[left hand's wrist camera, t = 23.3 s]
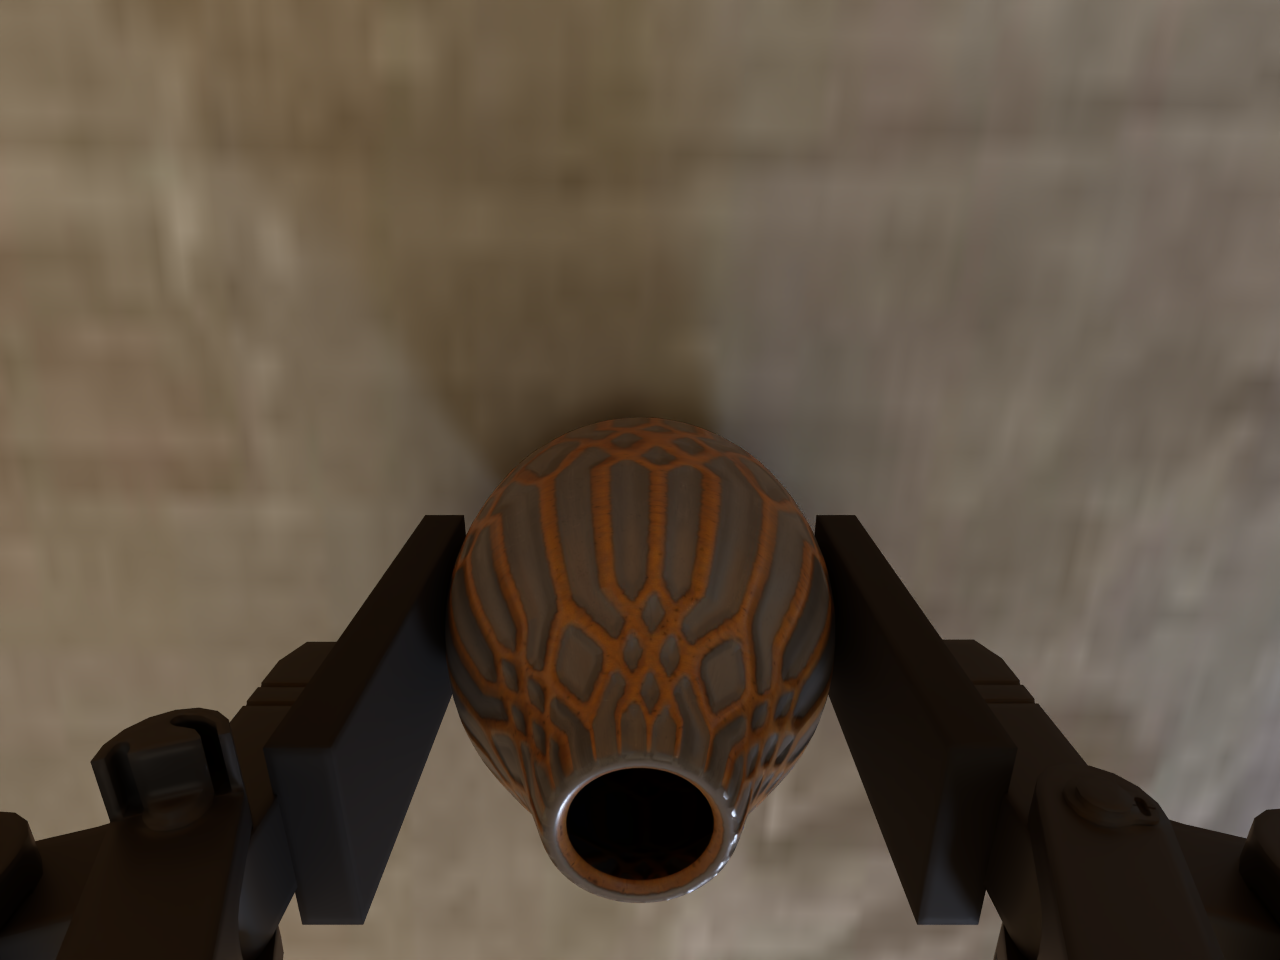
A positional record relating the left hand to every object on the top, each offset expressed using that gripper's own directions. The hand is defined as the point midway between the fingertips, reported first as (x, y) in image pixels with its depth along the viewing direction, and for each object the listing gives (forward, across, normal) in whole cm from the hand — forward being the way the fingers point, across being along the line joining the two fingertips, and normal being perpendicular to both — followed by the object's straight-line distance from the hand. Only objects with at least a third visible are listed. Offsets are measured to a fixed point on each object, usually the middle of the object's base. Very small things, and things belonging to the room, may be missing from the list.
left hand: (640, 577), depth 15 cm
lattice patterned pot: (+2, 0, 0) cm, 2 cm away
